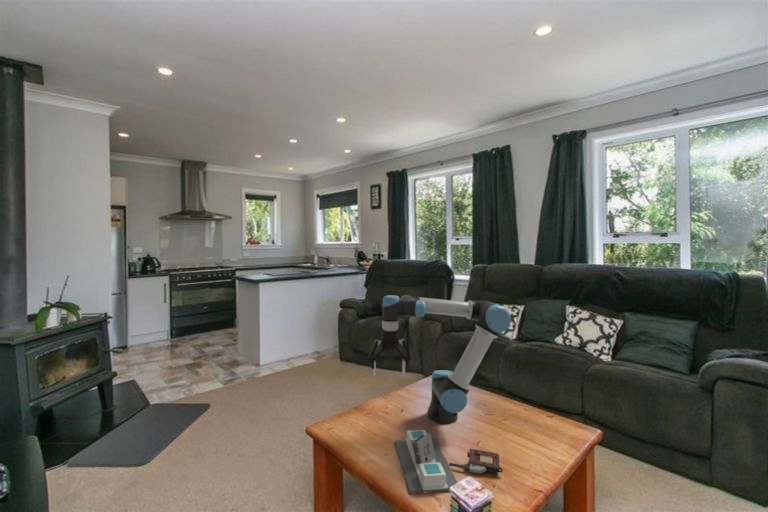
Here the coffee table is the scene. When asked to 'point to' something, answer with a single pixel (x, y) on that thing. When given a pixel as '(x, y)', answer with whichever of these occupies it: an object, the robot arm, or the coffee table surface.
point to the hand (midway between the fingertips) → (389, 375)
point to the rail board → (412, 470)
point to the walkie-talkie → (481, 462)
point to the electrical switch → (423, 449)
